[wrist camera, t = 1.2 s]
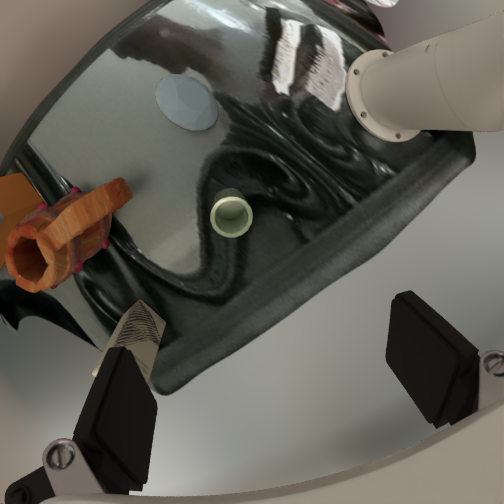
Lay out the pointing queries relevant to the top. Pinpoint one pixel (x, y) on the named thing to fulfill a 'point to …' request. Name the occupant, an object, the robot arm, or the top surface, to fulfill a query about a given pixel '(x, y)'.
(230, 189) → the cup
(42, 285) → the mug
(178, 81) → the gemstone
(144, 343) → the box
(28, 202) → the container
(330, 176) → the top surface
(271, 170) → the top surface
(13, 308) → the top surface
